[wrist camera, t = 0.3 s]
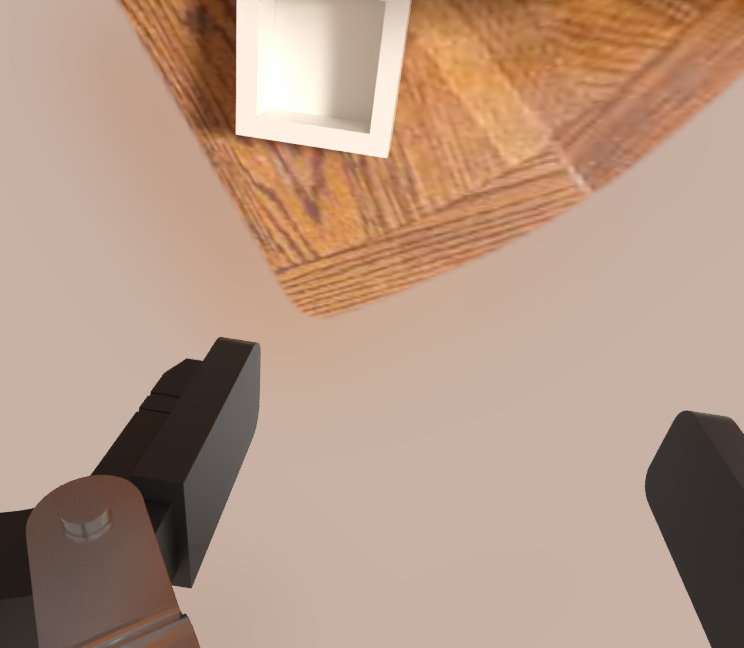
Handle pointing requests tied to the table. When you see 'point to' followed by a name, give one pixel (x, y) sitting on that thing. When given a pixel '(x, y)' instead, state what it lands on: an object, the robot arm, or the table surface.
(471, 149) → the table surface
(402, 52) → the white open box
